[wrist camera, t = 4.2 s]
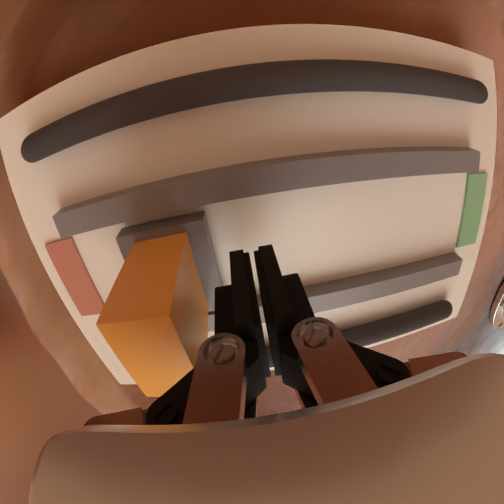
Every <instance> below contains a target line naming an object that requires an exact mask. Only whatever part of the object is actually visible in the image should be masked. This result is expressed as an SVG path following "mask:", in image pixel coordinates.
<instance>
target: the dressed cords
mask: <svg viewBox="0 0 504 504" xmlns="http://www.w3.org/2000/svg"><path fill="white" fill-rule="evenodd" d="M342 91H361V92H390V93H405V94H416V95H425V96H434V97H441V98H448V99H455V100H461V101H466V102H471V103H476V104H482V103H484V102H486V100H487V98H488V90H487V88H486V86H485V85H484V84H483V83H482V82H481V81H479V80H476V79H473V78H469V77H465V76H461V75H457V74H453V73H449V72H444V71H439V70H434V69H429V68H423V67H417V66H411V65H404V64H396V63H387V62H376V61H363V60H339V59H312V60H288V61H274V62H264V63H254V64H246V65H239V66H232V67H226V68H220V69H214V70H209V71H203V72H198V73H194V74H189V75H185V76H180V77H176V78H172V79H168V80H165V81H161V82H157V83H154V84H150V85H147V86H143V87H140V88H137V89H134V90H131V91H128V92H125V93H122V94H119V95H116V96H113V97H111V98H108V99H105V100H102V101H100V102H97V103H95V104H92V105H90V106H87V107H85V108H83V109H80V110H78V111H76V112H73V113H71V114H69V115H67V116H65V117H63V118H60V119H58V120H56V121H54V122H52V123H50V124H48V125H46V126H44V127H42V128H40V129H39V130H37V131H35V132H33V133H31V134H29V135H28V136H27V137H26V138H25V139H24V140H23V142H22V145H21V155H22V157H23V159H24V160H25V161H27V162H30V163H35V162H38V161H40V160H42V159H44V158H46V157H48V156H51V155H53V154H55V153H57V152H60V151H62V150H64V149H67V148H69V147H71V146H74V145H76V144H79V143H81V142H84V141H86V140H89V139H92V138H94V137H97V136H100V135H103V134H105V133H108V132H111V131H114V130H117V129H120V128H123V127H126V126H130V125H133V124H136V123H139V122H143V121H146V120H150V119H153V118H157V117H161V116H165V115H168V114H172V113H177V112H181V111H185V110H189V109H194V108H199V107H204V106H209V105H214V104H219V103H225V102H231V101H237V100H244V99H251V98H258V97H266V96H275V95H285V94H297V93H313V92H342ZM452 310H453V308H452V304H451V303H450V302H449V301H447V300H442V301H439V302H437V303H434V304H431V305H428V306H425V307H422V308H419V309H416V310H412V311H409V312H406V313H403V314H400V315H396V316H393V317H390V318H386V319H383V320H379V321H376V322H372V323H368V324H365V325H361V326H357V327H353V328H349V329H345V330H341V331H340V332H341V333H342V335H343V336H344V338H345V339H346V341H349V342H352V343H354V344H357V345H360V346H362V347H363V346H367V345H370V344H373V343H377V342H380V341H383V340H387V339H390V338H393V337H396V336H399V335H402V334H405V333H408V332H411V331H414V330H417V329H420V328H422V327H425V326H428V325H431V324H433V323H436V322H439V321H441V320H444V319H446V318H448V317H449V316H450V315H451V314H452ZM266 351H267V357H268V362H269V368H271V367H274V364H273V359H272V354H271V349H270V346H266Z"/></svg>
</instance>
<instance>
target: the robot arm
mask: <svg viewBox="0 0 504 504" xmlns="http://www.w3.org/2000/svg"><path fill="white" fill-rule="evenodd" d="M253 252H254V258H255V265H256V271H257V277H258V283H259V289H260V295H261V301H262V307H263V313H264V318H265V323H266V328H267V333H268V338H269V344H270V349H271V354H272V359H273V364H274V369H275V374H276V376H278V375H282V380H283V383H284V384H286V385H288V386H290V387H292V388H294V389H295V393H296V396H297V398H298V400H299V402H300V405H301V407H302V409H300V410H296V411H291V412H285V413H280V414H274V415H268V416H262V417H258V410H259V398H258V396H259V394H260V393H261V392H262V391H263V390H264V389H265V388H266V379H265V378H266V377H271V374H270V368H269V362H268V357H267V351H266V345H265V340H264V334H263V328H262V322H261V317H260V311H259V305H258V300H257V294H256V289H255V283H254V277H253V272H252V266H251V261H250V255H249V252H246V253H244V252H243V249H241V250H236V251H230V252H229V256H230V272H231V285H226V286H220V287H215V310H214V334H215V335H213V336H211V337H209V338H208V339H206V340H205V341H204V342H203V343H202V344H201V346H200V348H199V351H198V355H197V359H196V364H195V367H194V368H193V369H192V370H191V371H190V372H188V373H187V374H186V375H185V376H184V377H183V378H181V379H180V380H179V381H178V382H177V383H176V384H175V385H173V386H172V387H171V388H170V389H169V390H168V391H166V392H165V393H164V394H163V395H162V396H160V397H159V398H158V399H157V400H156V401H155V402H153V403H152V405H151V406H150V407H149V408H148V409H144V410H143V408H142V407H140V408H135V409H131V410H126V411H121V412H116V413H110V414H105V415H99V416H95V417H92V418H90V419H89V420H88V421H86V423H85V425H84V426H82V427H76V428H72V429H69V430H65V431H62V432H59V433H57V434H55V435H54V436H52V437H50V438H49V439H48V440H47V441H46V442H45V444H44V445H43V447H42V449H41V451H40V453H39V456H38V459H37V462H36V465H35V469H34V473H33V478H32V482H31V488H30V494H29V503H28V504H504V355H502V354H494V353H489V354H477V355H472V356H467V355H465V354H464V353H461V352H449V353H444V354H438V355H432V356H426V357H419V358H413V359H408V362H404V363H403V362H401V361H399V360H397V359H395V358H392V357H390V356H387V355H384V354H381V353H379V352H376V351H373V350H370V349H368V348H365V347H362V346H360V345H357V344H354V343H352V342H349V341H346V339H345V338H344V336H343V335H342V333H341V332H340V331H339V329H338V328H337V326H336V325H335V324H334V323H333V322H332V321H330V320H328V319H326V318H322V317H315V315H314V313H313V310H312V307H311V305H310V302H309V300H308V297H307V295H306V292H305V290H304V287H303V285H302V282H301V280H300V277H299V275H298V273H294V274H289V275H283V276H282V274H281V271H280V268H279V264H278V261H277V258H276V255H275V252H274V249H273V246H272V244H270V245H264V246H259V247H258V250H257V251H253ZM490 322H491V324H492V325H493V326H494V328H496V329H502V328H504V282H503V284H502V285H501V287H500V289H499V291H498V293H497V295H496V298H495V300H494V302H493V305H492V308H491V312H490Z"/></svg>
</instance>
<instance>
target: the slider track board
mask: <svg viewBox="0 0 504 504" xmlns="http://www.w3.org/2000/svg"><path fill="white" fill-rule="evenodd" d="M312 59H339V60H363V61H376V62H387V63H396V64H404V65H411V66H417V67H423V68H429V69H434V70H439V71H444V72H449V73H453V74H457V75H461V76H465V77H469V78H473V79H476V80H479V81H481V82H482V83H483V84H484V85H485V86H486V88H487V90H488V98H487V100H486V102H484V103H482V104H476V103H471V102H466V101H461V100H455V99H448V98H441V97H434V96H425V95H416V94H405V93H390V92H361V91H342V92H313V93H297V94H285V95H275V96H266V97H258V98H251V99H244V100H237V101H231V102H225V103H219V104H214V105H209V106H204V107H199V108H194V109H189V110H185V111H181V112H177V113H172V114H168V115H165V116H161V117H157V118H153V119H150V120H146V121H143V122H139V123H136V124H133V125H130V126H126V127H123V128H120V129H117V130H114V131H111V132H108V133H105V134H103V135H100V136H97V137H94V138H92V139H89V140H86V141H84V142H81V143H79V144H76V145H74V146H71V147H69V148H67V149H64V150H62V151H60V152H57V153H55V154H53V155H51V156H48V157H46V158H44V159H42V160H40V161H38V162H35V163H30V162H27V161H25V160H24V159H23V157H22V155H21V145H22V142H23V140H24V139H25V138H26V137H27V136H28V135H29V134H31V133H33V132H35V131H37V130H39V129H40V128H42V127H44V126H46V125H48V124H50V123H52V122H54V121H56V120H58V119H60V118H63V117H65V116H67V115H69V114H71V113H73V112H76V111H78V110H80V109H83V108H85V107H87V106H90V105H92V104H95V103H97V102H100V101H102V100H105V99H108V98H111V97H113V96H116V95H119V94H122V93H125V92H128V91H131V90H134V89H137V88H140V87H143V86H147V85H150V84H154V83H157V82H161V81H165V80H168V79H172V78H176V77H180V76H185V75H189V74H194V73H198V72H203V71H209V70H214V69H220V68H226V67H232V66H239V65H246V64H254V63H264V62H274V61H288V60H312ZM496 134H497V102H496V84H495V72H494V63H493V60H491V59H489V58H486V57H484V56H481V55H479V54H476V53H473V52H471V51H468V50H465V49H462V48H459V47H456V46H452V45H449V44H446V43H442V42H439V41H435V40H431V39H427V38H423V37H419V36H414V35H409V34H404V33H399V32H394V31H388V30H381V29H374V28H366V27H357V26H345V25H329V24H281V25H265V26H253V27H244V28H235V29H228V30H221V31H215V32H209V33H204V34H199V35H194V36H189V37H185V38H180V39H176V40H172V41H168V42H164V43H161V44H157V45H154V46H150V47H147V48H144V49H140V50H137V51H134V52H131V53H128V54H125V55H123V56H120V57H117V58H114V59H112V60H109V61H107V62H104V63H102V64H99V65H97V66H94V67H92V68H90V69H87V70H85V71H83V72H81V73H79V74H76V75H74V76H72V77H70V78H68V79H66V80H64V81H62V82H60V83H58V84H56V85H54V86H52V87H51V88H49V89H47V90H45V91H43V92H41V93H40V94H38V95H36V96H35V97H33V98H31V99H30V100H28V101H26V102H25V103H23V104H21V105H20V106H18V107H17V108H15V109H14V110H12V111H11V112H9V113H8V114H6V115H5V116H3V117H2V118H1V119H0V149H1V153H2V157H3V160H4V164H5V168H6V171H7V175H8V178H9V181H10V184H11V187H12V191H13V193H14V196H15V199H16V202H17V205H18V208H19V210H20V213H21V216H22V218H23V221H24V223H25V226H26V228H27V230H28V233H29V235H30V238H31V240H32V242H33V244H34V247H35V249H36V251H37V253H38V255H39V257H40V259H41V261H42V263H43V265H44V267H45V269H46V271H47V273H48V275H49V277H50V279H51V281H52V283H53V285H54V287H55V288H56V290H57V292H58V294H59V295H60V297H61V299H62V301H63V302H64V304H65V306H66V307H67V309H68V311H69V312H70V314H71V316H72V317H73V319H74V321H75V322H76V324H77V325H78V327H79V328H80V330H81V331H82V333H83V334H84V336H85V337H86V339H87V340H88V342H89V343H90V345H91V346H92V347H93V349H94V350H95V352H96V353H97V354H98V356H99V357H100V359H101V360H102V361H103V363H104V364H105V365H106V367H107V368H108V369H109V370H110V372H111V373H112V374H113V376H114V377H115V378H116V379H117V381H118V382H119V383H120V384H136V382H135V381H134V380H133V378H132V377H131V376H130V374H129V373H128V372H127V370H126V369H125V368H124V366H123V365H122V363H121V362H120V361H119V359H118V358H117V356H116V355H115V353H114V352H113V350H112V349H111V347H110V346H109V344H108V343H107V341H106V340H105V338H104V337H103V335H102V334H101V332H100V331H99V329H98V327H97V326H96V323H97V320H98V318H99V316H100V313H101V311H102V309H103V306H104V304H105V302H106V300H107V297H108V295H109V293H110V291H111V289H112V287H113V284H114V282H115V280H116V278H117V276H118V274H119V272H120V270H121V268H122V266H123V264H124V262H125V261H124V259H123V256H122V254H121V251H120V249H119V246H118V244H117V241H116V237H117V235H118V234H119V232H120V231H121V229H122V228H125V227H129V226H134V225H138V224H142V223H147V222H151V221H156V220H161V219H165V218H170V217H175V216H180V215H185V214H190V213H195V212H200V211H205V214H206V218H207V222H208V226H209V231H210V235H211V239H212V243H213V247H214V251H215V255H216V259H217V263H218V267H219V271H220V275H221V279H222V283H223V286H226V285H231V272H230V256H229V252H230V251H236V250H241V249H243V252H244V253H246V252H249V255H250V261H251V266H252V272H253V277H254V283H255V289H256V294H257V300H258V305H259V311H260V317H261V322H262V328H263V334H264V340H265V345H266V346H270V344H269V338H268V333H267V328H266V323H265V318H264V313H263V307H262V301H261V295H260V289H259V283H258V277H257V271H256V265H255V258H254V252H253V251H257V250H258V247H259V246H264V245H270V244H272V246H273V249H274V252H275V255H276V258H277V261H278V264H279V268H280V271H281V274H282V276H283V275H289V274H294V273H298V275H299V277H300V280H301V282H302V285H303V287H304V290H305V292H306V295H307V297H308V300H309V302H310V305H311V307H312V310H313V313H314V315H315V317H322V318H326V319H328V320H330V321H332V322H333V323H334V324H335V325H336V326H337V328H338V329H339V331H341V330H345V329H349V328H353V327H357V326H361V325H365V324H368V323H372V322H376V321H379V320H383V319H386V318H390V317H393V316H396V315H400V314H403V313H406V312H409V311H412V310H416V309H419V308H422V307H425V306H428V305H431V304H434V303H437V302H439V301H442V300H447V301H449V302H450V303H451V304H452V308H453V310H452V314H451V315H450V316H449V317H448V318H446V319H444V320H441V321H439V322H436V323H433V324H431V325H428V326H425V327H422V328H420V329H417V330H414V331H411V332H408V333H405V334H402V335H399V336H396V337H393V338H390V339H387V340H383V341H380V342H377V343H373V344H370V345H367V346H363V347H365V348H369V347H372V346H375V345H379V344H382V343H385V342H388V341H392V340H395V339H398V338H401V337H404V336H407V335H410V334H413V333H415V332H418V331H421V330H424V329H426V328H429V327H432V326H434V325H437V324H440V323H442V322H445V321H447V320H450V319H452V318H455V317H457V315H458V312H459V310H460V307H461V305H462V302H463V299H464V297H465V294H466V291H467V288H468V285H469V282H470V279H471V276H472V273H473V270H474V266H475V263H476V259H477V256H478V252H479V248H480V245H481V241H482V236H483V232H484V228H485V223H486V218H487V213H488V208H489V202H490V196H491V189H492V182H493V174H494V165H495V153H496ZM213 335H215V334H214V311H210V312H208V338H209V337H211V336H213ZM270 370H275V369H274V367H271V368H270Z"/></svg>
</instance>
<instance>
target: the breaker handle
mask: <svg viewBox="0 0 504 504" xmlns="http://www.w3.org/2000/svg"><path fill="white" fill-rule="evenodd" d="M116 241H117V244H118V246H119V249H120V251H121V254H122V256H123V259H124V261H125V262H124V264H123V266H122V268H121V270H120V272H119V274H118V276H117V278H116V280H115V282H114V284H113V287H112V289H111V291H110V293H109V295H108V297H107V300H106V302H105V304H104V306H103V309H102V311H101V313H100V316H99V318H98V320H97V323H96V326H97V327H98V329H99V331H100V332H101V334H102V335H103V337H104V338H105V340H106V341H107V343H108V344H109V346H110V347H111V349H112V350H113V352H114V353H115V355H116V356H117V358H118V359H119V361H120V362H121V363H122V365H123V366H124V368H125V369H126V370H127V372H128V373H129V374H130V376H131V377H132V378H133V380H134V381H135V382H136V384H137V385H138V386H139V387H140V389H141V390H142V391H143V392H144V394H145V395H146V396H147V397H160V396H162V395H163V394H164V393H165V392H166V391H168V390H169V389H170V388H171V387H172V386H173V385H175V384H176V383H177V382H178V381H179V380H180V379H181V378H183V377H184V376H185V375H186V374H187V373H188V372H190V371H191V370H192V369H193V368H194V367H195V364H196V359H197V355H198V351H199V348H200V346H201V344H202V343H203V342H204V341H205V340H206V339H208V312H210V311H214V310H215V287H220V286H223V283H222V279H221V275H220V271H219V267H218V263H217V259H216V255H215V251H214V247H213V243H212V239H211V235H210V231H209V226H208V222H207V218H206V214H205V211H200V212H195V213H190V214H185V215H180V216H175V217H170V218H165V219H161V220H156V221H151V222H147V223H142V224H138V225H134V226H129V227H125V228H122V229H121V231H120V232H119V234H118V235H117V237H116Z"/></svg>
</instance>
